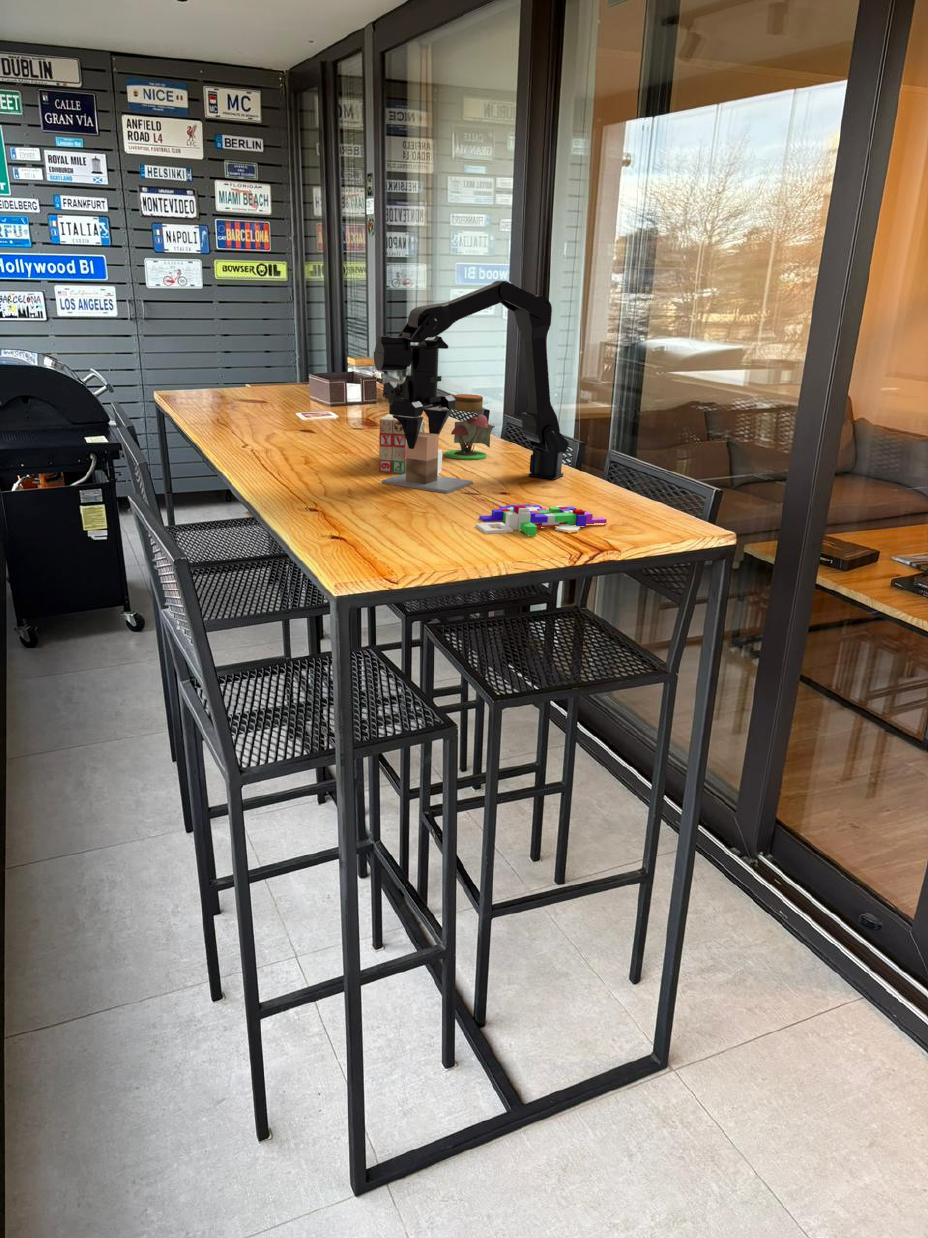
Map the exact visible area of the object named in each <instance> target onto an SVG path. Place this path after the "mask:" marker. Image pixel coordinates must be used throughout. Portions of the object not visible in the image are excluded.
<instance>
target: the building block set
mask: <svg viewBox="0 0 928 1238" xmlns="http://www.w3.org/2000/svg"><path fill="white" fill-rule="evenodd" d="M593 515H594V514H593V513H592V512H590V511H588V510H587V511H586V510H583V509H582V508H581V509H578V508H576V507H575V506H571V505H570V506H564V505H555V506H551V507H548V508H546V507H545V508H544V507H542V506H541V505H539V504H509V505H508V504H507V505H504V506H499V507H498V509H491V514H490V515H489V514H488V515H478V516H479V517H478V518H479V520H481V522H480V523H475V527H476V528H477V529H478V530H479V531H481V532H482V531H483V532H482V533H484V534H485V535H489V534H488V533H492V534H505V533H506V534H507V532H512V533H513V531H515V530H517V531H519V532H520V531H524V532H523V533H525V534H526V535H536V536H537V530H538V529H542V528H541V527H555V526H559V527H556V528H555V530H561V531H578V530H579V529H580V530H581V528H580V526H586V524H594V523H606V524H607V520H608V519H607V518H605V517H604V516H598V517H597V516H596V517H594V516H593ZM500 521H501V522H500ZM502 521H503V522H502ZM572 525H576V526H572ZM586 527H587V526H586ZM537 528H538V529H537ZM580 530H579V531H580ZM579 531H578V532H579ZM525 534H524V535H525ZM526 535H525V536H526Z"/></svg>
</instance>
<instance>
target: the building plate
mask: <svg viewBox="0 0 928 1238" xmlns="http://www.w3.org/2000/svg"><path fill="white" fill-rule="evenodd" d="M381 484H384V485H392V486H396V487H397V486H398V487H405V488H410V489H419V490H424V491H430V492H431V491H432V492H435V493H436V492H438V493H443V494H448V493H451V492H454V491H457V490H460V489H462V488H464V487H468V486H470V485H473V484H474V481H473V480H469V479H461V478H455V477H449V476H443V475H437V481H434V482H431V483H428V484H421V483H414V482H408V481H406V473H404V474H401V473H400V474H399V475H394V476H392V477H387V478H385V479H382V481H381Z"/></svg>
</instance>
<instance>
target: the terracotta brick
mask: <svg viewBox="0 0 928 1238" xmlns="http://www.w3.org/2000/svg"><path fill="white" fill-rule="evenodd" d="M439 437H440V434H432V433H429V432H425V431H424V432H419V434H418V438H417V441H416V444H415V447H414V449H409V447H408V444H407V445H406V458H409V459H416V460H424V461H428V460H431V459H435V458H438V450H439V439H440V438H439Z"/></svg>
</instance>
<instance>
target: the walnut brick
mask: <svg viewBox="0 0 928 1238" xmlns="http://www.w3.org/2000/svg"><path fill="white" fill-rule="evenodd" d="M437 471H438V458H435V459H431V460H428V461H424V460H416V459H409V458H406V481H408V482H414V483H421V484H428V483H431V482H434V481H437V476H438V474H437Z"/></svg>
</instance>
